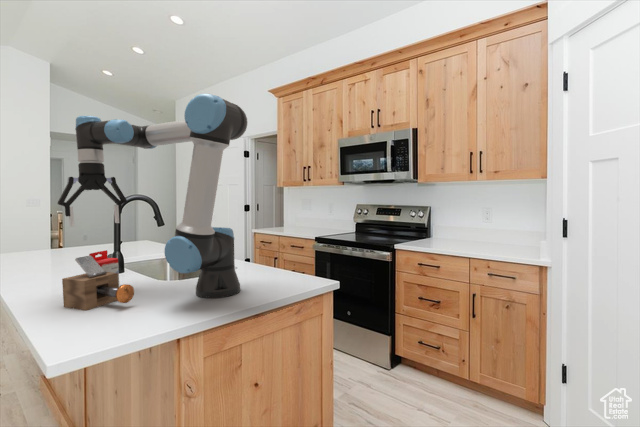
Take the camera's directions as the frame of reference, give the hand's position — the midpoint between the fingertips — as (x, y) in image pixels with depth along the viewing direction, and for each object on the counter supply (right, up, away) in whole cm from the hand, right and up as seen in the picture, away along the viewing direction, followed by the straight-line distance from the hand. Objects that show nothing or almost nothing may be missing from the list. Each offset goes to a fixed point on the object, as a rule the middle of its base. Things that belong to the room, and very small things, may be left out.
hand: (95, 224), depth 125 cm
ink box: (+1, -25, +4) cm, 25 cm away
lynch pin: (+13, -23, -12) cm, 30 cm away
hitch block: (+4, -25, -8) cm, 27 cm away
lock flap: (+4, -14, -9) cm, 17 cm away
